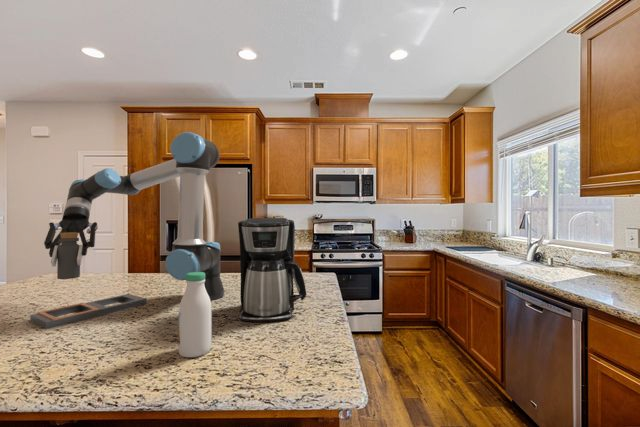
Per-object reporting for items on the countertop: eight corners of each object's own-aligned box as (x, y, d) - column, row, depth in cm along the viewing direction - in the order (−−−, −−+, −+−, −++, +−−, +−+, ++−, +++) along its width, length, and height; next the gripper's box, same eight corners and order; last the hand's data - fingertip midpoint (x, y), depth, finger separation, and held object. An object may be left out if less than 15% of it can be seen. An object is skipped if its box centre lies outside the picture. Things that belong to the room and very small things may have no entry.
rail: (146, 303, 117) (146, 297, 117) (46, 329, 91) (46, 321, 91) (128, 298, 124) (128, 293, 124) (30, 320, 98) (30, 313, 98)
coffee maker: (245, 328, 93) (246, 218, 93) (223, 301, 121) (223, 217, 121) (311, 316, 104) (311, 218, 104) (276, 294, 132) (277, 217, 132)
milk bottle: (217, 348, 79) (218, 271, 79) (194, 361, 72) (194, 277, 72) (196, 342, 83) (196, 269, 83) (171, 354, 76) (172, 274, 76)
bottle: (66, 275, 104) (66, 232, 104) (84, 275, 105) (84, 232, 105) (52, 279, 98) (52, 233, 98) (71, 279, 99) (72, 233, 99)
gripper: (108, 219, 119) (102, 267, 105) (46, 219, 110) (30, 272, 96) (107, 205, 115) (100, 254, 101) (41, 204, 106) (24, 258, 91)
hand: (66, 263), depth 98 cm, fingers closed on bottle, 6 cm apart
